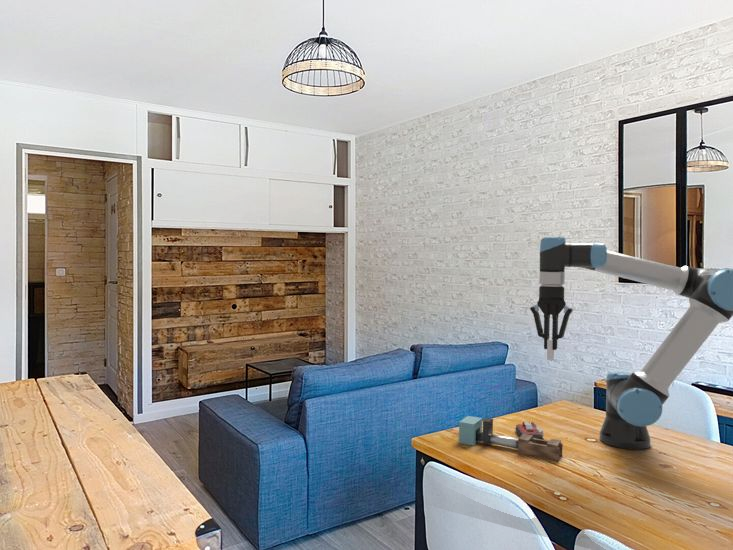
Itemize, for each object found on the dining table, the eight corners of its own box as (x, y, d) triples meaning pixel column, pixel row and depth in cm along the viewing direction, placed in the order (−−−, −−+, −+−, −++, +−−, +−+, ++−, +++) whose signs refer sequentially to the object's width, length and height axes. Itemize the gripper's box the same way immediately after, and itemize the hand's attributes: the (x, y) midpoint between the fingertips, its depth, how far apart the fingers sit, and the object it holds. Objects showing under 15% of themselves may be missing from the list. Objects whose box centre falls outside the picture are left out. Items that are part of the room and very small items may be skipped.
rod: (532, 449, 167) (533, 425, 167) (529, 453, 163) (530, 428, 163) (472, 437, 177) (472, 415, 177) (467, 441, 174) (468, 418, 174)
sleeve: (562, 455, 163) (562, 440, 163) (558, 461, 158) (558, 445, 158) (523, 448, 169) (523, 433, 169) (518, 453, 164) (518, 438, 164)
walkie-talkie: (550, 445, 173) (535, 426, 193) (550, 432, 173) (535, 414, 193) (523, 444, 174) (510, 425, 194) (523, 431, 174) (510, 413, 194)
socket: (481, 438, 178) (482, 418, 177) (473, 445, 171) (473, 424, 171) (467, 436, 180) (467, 415, 180) (458, 443, 173) (459, 421, 173)
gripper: (575, 285, 168) (574, 360, 168) (533, 284, 174) (532, 355, 175) (571, 286, 161) (569, 363, 162) (527, 285, 168) (526, 359, 169)
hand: (550, 359), depth 168 cm, fingers closed
